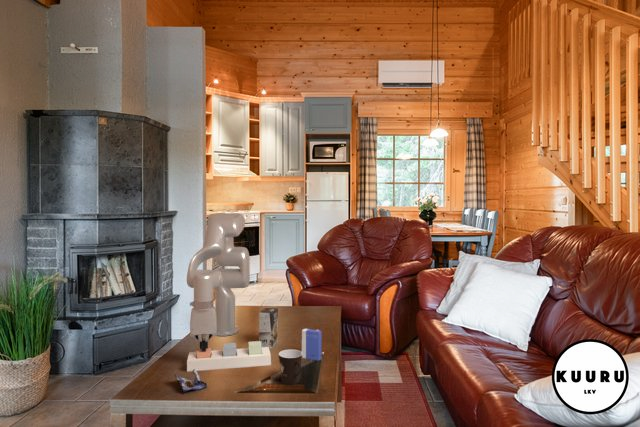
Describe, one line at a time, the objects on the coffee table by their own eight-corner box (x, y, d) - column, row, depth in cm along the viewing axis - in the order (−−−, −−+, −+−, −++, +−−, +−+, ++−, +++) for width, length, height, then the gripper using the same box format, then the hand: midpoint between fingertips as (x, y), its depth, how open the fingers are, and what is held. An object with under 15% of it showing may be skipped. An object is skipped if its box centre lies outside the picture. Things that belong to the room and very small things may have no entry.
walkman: (321, 358, 179) (321, 329, 179) (318, 360, 177) (318, 331, 176) (304, 355, 182) (304, 327, 182) (301, 357, 180) (301, 329, 179)
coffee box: (272, 349, 190) (272, 313, 189) (258, 348, 191) (258, 312, 190) (278, 342, 199) (278, 307, 198) (265, 341, 200) (265, 307, 199)
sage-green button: (248, 357, 172) (248, 345, 172) (248, 353, 177) (248, 341, 177) (261, 356, 173) (261, 345, 173) (260, 352, 178) (260, 341, 178)
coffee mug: (278, 376, 161) (278, 349, 161) (301, 375, 162) (301, 349, 161) (278, 389, 150) (278, 361, 149) (303, 389, 150) (303, 360, 150)
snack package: (207, 378, 159) (174, 380, 157) (208, 363, 158) (174, 364, 156) (206, 399, 148) (170, 401, 145) (206, 382, 147) (170, 384, 144)
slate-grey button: (223, 359, 170) (223, 347, 170) (223, 355, 175) (223, 343, 175) (236, 358, 171) (236, 346, 171) (236, 354, 176) (236, 342, 176)
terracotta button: (197, 365, 168) (197, 353, 168) (197, 360, 173) (197, 348, 173) (210, 364, 169) (210, 352, 169) (210, 359, 174) (210, 347, 174)
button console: (187, 371, 165) (187, 361, 165) (189, 361, 175) (189, 352, 175) (270, 365, 172) (270, 355, 171) (268, 356, 181) (268, 346, 181)
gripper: (182, 307, 165) (183, 355, 166) (222, 306, 168) (223, 352, 169) (184, 303, 172) (185, 348, 173) (223, 301, 175) (223, 346, 176)
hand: (203, 350), depth 171 cm, fingers closed
